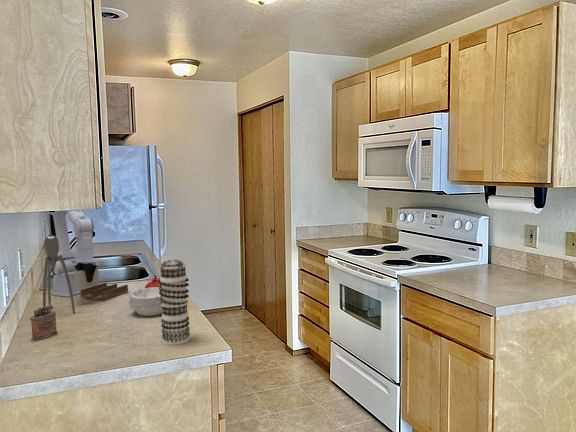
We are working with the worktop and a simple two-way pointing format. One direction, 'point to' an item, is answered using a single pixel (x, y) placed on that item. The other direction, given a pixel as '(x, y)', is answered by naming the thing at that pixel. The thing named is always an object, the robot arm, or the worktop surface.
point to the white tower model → (174, 302)
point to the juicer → (52, 257)
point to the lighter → (43, 323)
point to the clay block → (81, 279)
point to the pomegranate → (153, 283)
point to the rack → (103, 292)
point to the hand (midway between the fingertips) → (87, 281)
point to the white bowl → (146, 301)
